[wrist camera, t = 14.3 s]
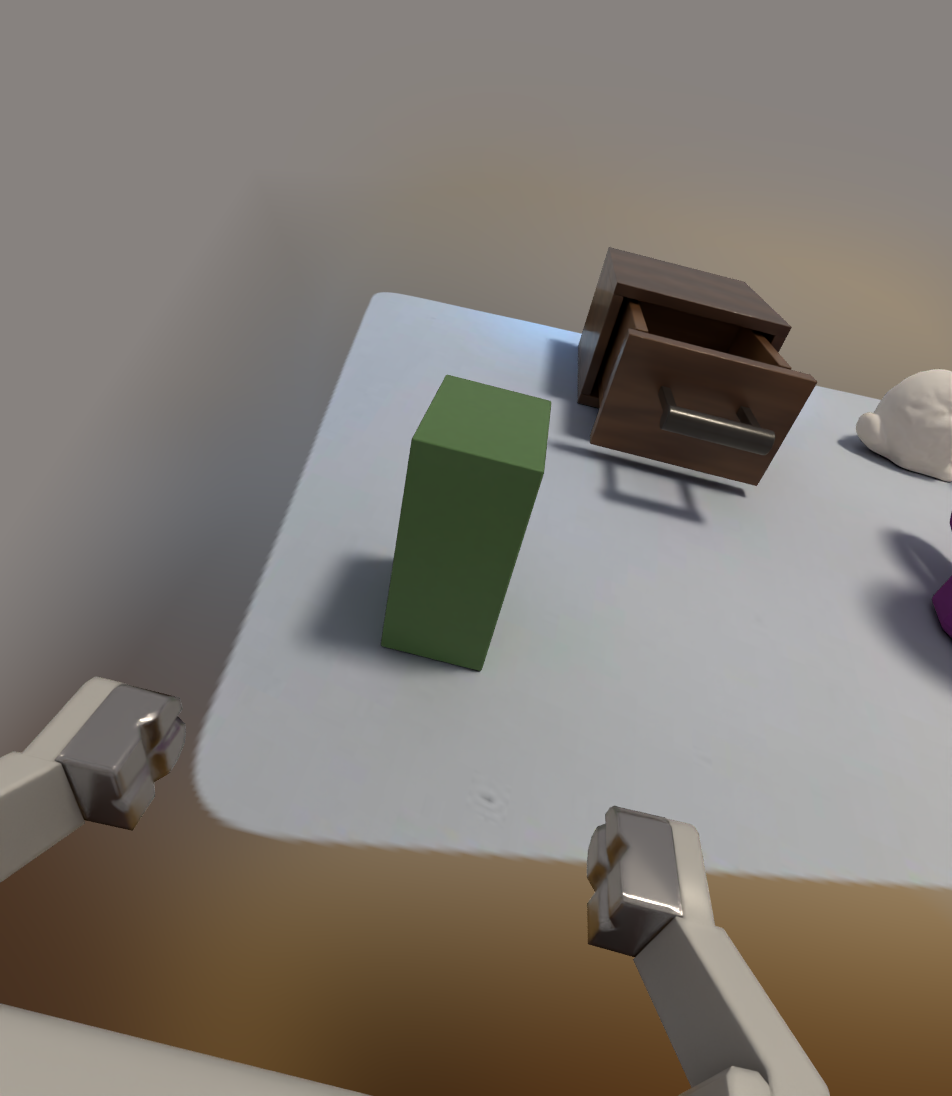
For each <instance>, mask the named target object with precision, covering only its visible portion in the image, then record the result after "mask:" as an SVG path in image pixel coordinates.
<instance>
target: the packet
mask: <svg viewBox="0 0 952 1096" xmlns="http://www.w3.org/2000/svg"><path fill="white" fill-rule="evenodd" d="M550 410H551V401H548V400H545V399H541V398H537V397H533V396H529V395H525V394H521V393H517V392H513V391H509V390H505V389H501V388H498V387H494V386H490V385H486V384H482V383H478V382H474V381H470V380H466V379H462V378H458V377H454V376H451V375H446V376H445V378H444V380H443V382H442V384H441V386H440V387H439V389H438V391H437V393H436V395H435V397H434V399H433V401H432V402H431V404H430V406H429V408H428V410H427V412H426V414H425V415H424V417H423V419H422V421H421V423H420V425H419V427H418V429H417V430H416V432H415V434H414V436H413V438H412V441H411V448H410V454H409V461H408V468H407V474H406V481H405V487H404V494H403V501H402V507H401V514H400V520H399V527H398V534H397V540H396V547H395V553H394V560H393V567H392V573H391V580H390V587H389V593H388V600H387V606H386V613H385V620H384V626H383V633H382V639H381V646H383V647H387V648H391V649H395V650H399V651H403V652H407V653H411V654H415V655H419V656H423V657H427V658H431V659H434V660H438V661H442V662H446V663H450V664H454V665H458V666H462V667H466V668H470V669H474V670H478V671H481V670H482V667H483V664H484V661H485V658H486V655H487V651H488V648H489V645H490V642H491V639H492V636H493V632H494V629H495V626H496V623H497V620H498V617H499V613H500V610H501V607H502V604H503V601H504V598H505V595H506V591H507V588H508V585H509V582H510V579H511V576H512V572H513V569H514V566H515V563H516V560H517V557H518V553H519V550H520V547H521V544H522V541H523V538H524V534H525V531H526V528H527V525H528V522H529V519H530V515H531V512H532V509H533V506H534V503H535V500H536V496H537V493H538V490H539V487H540V484H541V481H542V478H543V474H544V468H545V458H546V449H547V439H548V429H549V420H550Z"/></svg>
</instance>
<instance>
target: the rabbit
mask: <svg viewBox="0 0 952 1096" xmlns="http://www.w3.org/2000/svg"><path fill="white" fill-rule="evenodd" d="M856 432H857V435H858V437H859V438H860V440H861V441H862V442H863V443H864V444H865V445H866V446H867V447H868V448H869V449H870V450H872V451H873V452H875V453H877V454H880V455H882V456H884V457H886V458H888V459H889V460H891V461H892V462H894V463H895V464H897V465H898V466H900V467H902V468H905V469H908V470H911V471H914V472H918V473H921V474H925V475H928V476H931V477H935V478H938V479H941V480H943V481H948V482H951V481H952V372H951V371H948V370H943V369H932V370H929V371H922V372H919V373H917V374H914V375H912V376H909V377H907V378H906V379H904V380H903V381H902V382H900V383H899V384H898V385H896V386H895V387H893V388H892V389H890V390H889V391H888V392H887V393H886V394H885V396H884V397H883V399H882V400H881V401H880V403H879V405H878V406H877V408H876V410H875V411H874V413H865V414H863V415H862V416H861V417H860V418H859V420H858V422H857V424H856Z"/></svg>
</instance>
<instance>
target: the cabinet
mask: <svg viewBox="0 0 952 1096" xmlns="http://www.w3.org/2000/svg"><path fill="white" fill-rule="evenodd" d="M624 297H627V298H631V299H635V300H639V301H643V302H647V303H651V304H655V305H659V306H662V307H666V308H670V309H674V310H678V311H682V312H686V313H690V314H694V315H698V316H701V317H705V318H709V319H713V320H717V321H721V322H725V323H729V324H733V325H737V326H740V327H744V328H748V329H752V330H756V331H760V332H761V333H762V335H763V336H764V337H765V338H766V339H767V340H768V341H769V343H770V344H771V345H772V346H773V347H774V348H775V350H776V351H777V352H779V350H780V348H781V347H782V345H783V343H784V341H785V338H786V337H787V335H788V333H789V331H790V329H791V326H790V325H789V324H788V323H787V322H786V321H785V320H784V319H783V318H782V317H781V316H780V315H778V314H777V313H776V312H775V311H774V310H773V309H772V308H771V307H770V306H769V305H768V304H767V303H766V302H765V301H764V300H763V299H762V298H761V297H760V296H759V295H758V294H756V293H755V292H754V291H753V290H752V289H751V288H750V287H749V286H748V285H747V284H746V283H745V282H743V281H739V280H735V279H731V278H727V277H723V276H720V275H715V274H711V273H708V272H704V271H700V270H696V269H692V268H688V267H684V266H680V265H677V264H673V263H669V262H665V261H661V260H657V259H653V258H649V257H646V256H641V255H638V254H634V253H630V252H625V251H622V250H618V249H614V248H610V247H609V248H608V252H607V255H606V258H605V261H604V265H603V268H602V271H601V274H600V277H599V281H598V284H597V287H596V291H595V293H594V297H593V300H592V303H591V306H590V310H589V313H588V316H587V319H586V322H585V326H584V329H583V332H582V335H581V339H580V342H579V345H578V403H580V404H584V405H588V406H592V407H596V408H600V406H599V391H598V377H597V375H598V372H599V369H600V366H601V363H602V360H603V357H604V354H605V351H606V348H607V345H608V342H609V339H610V336H611V334H612V331H613V328H614V325H615V322H616V319H617V316H618V313H619V310H620V307H621V304H622V301H623V298H624Z"/></svg>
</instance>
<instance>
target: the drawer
mask: <svg viewBox="0 0 952 1096" xmlns="http://www.w3.org/2000/svg"><path fill="white" fill-rule="evenodd" d="M597 377H598V391H599V406H600V409H599V412H598V414H597V417H596V420H595V423H594V426H593V429H592V431H591V434H590V443H591V444H594V445H598V446H602V447H606V448H609V449H613V450H617V451H621V452H625V453H629V454H633V455H637V456H641V457H645V458H649V459H653V460H657V461H660V462H664V463H668V464H672V465H676V466H680V467H684V468H688V469H692V470H696V471H700V472H704V473H708V474H711V475H715V476H719V477H723V478H727V479H731V480H735V481H739V482H743V483H747V484H751V485H755V486H757V485H758V483H759V482H760V480H761V478H762V477H763V475H764V473H765V471H766V470H767V468H768V466H769V465H770V463H771V461H772V459H773V458H774V456H775V454H776V452H777V451H778V449H779V447H780V446H781V444H782V442H783V440H784V439H785V437H786V435H787V434H788V432H789V430H790V428H791V427H792V425H793V423H794V422H795V420H796V418H797V416H798V415H799V413H800V411H801V409H802V408H803V406H804V404H805V403H806V401H807V399H808V397H809V396H810V394H811V392H812V391H813V389H814V387H815V385H816V384H817V381H816V380H815V379H814V378H813V377H812V376H811V375H809V374H805V373H801V372H797V371H793V370H791V367H790V366H789V365H788V363H787V362H786V361H785V360H784V359H783V358H782V357H781V356H780V354H779V353H778V352H777V351H776V350H775V348H774V347H773V346H772V345H771V344H770V343H769V341H768V340H767V339H766V338H765V337H764V336H763V335H762V333H761V332H760V331H756V330H752V329H748V328H744V327H740V326H737V325H733V324H729V323H725V322H721V321H717V320H713V319H709V318H705V317H701V316H698V315H694V314H690V313H686V312H682V311H678V310H674V309H670V308H666V307H662V306H659V305H655V304H651V303H647V302H643V301H639V300H635V299H631V298H627V297H624V298H623V301H622V304H621V307H620V310H619V313H618V316H617V319H616V322H615V325H614V328H613V331H612V334H611V336H610V339H609V342H608V345H607V348H606V351H605V354H604V357H603V360H602V363H601V366H600V369H599V372H598V375H597Z"/></svg>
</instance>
